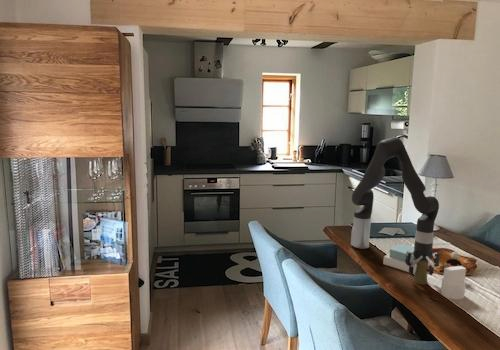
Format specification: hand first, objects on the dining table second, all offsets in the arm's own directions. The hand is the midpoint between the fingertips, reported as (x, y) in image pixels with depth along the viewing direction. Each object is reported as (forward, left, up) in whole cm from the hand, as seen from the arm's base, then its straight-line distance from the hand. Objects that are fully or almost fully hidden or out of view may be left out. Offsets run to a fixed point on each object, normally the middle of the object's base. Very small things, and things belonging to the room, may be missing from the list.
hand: (420, 274), depth 186 cm
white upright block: (+15, -2, -4) cm, 16 cm away
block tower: (-14, +14, -4) cm, 20 cm away
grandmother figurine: (+8, +16, -4) cm, 18 cm away
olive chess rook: (0, 0, -4) cm, 4 cm away
